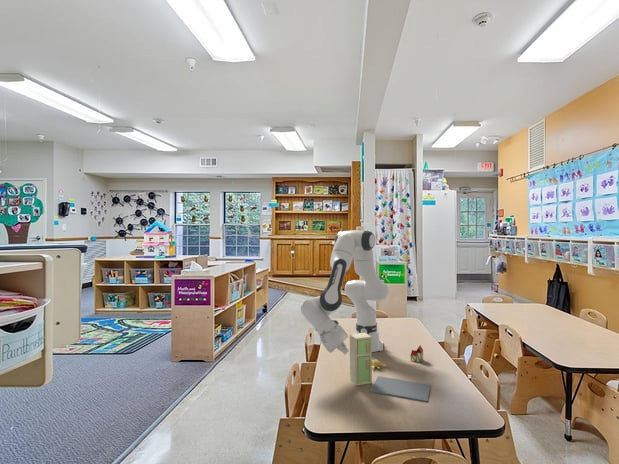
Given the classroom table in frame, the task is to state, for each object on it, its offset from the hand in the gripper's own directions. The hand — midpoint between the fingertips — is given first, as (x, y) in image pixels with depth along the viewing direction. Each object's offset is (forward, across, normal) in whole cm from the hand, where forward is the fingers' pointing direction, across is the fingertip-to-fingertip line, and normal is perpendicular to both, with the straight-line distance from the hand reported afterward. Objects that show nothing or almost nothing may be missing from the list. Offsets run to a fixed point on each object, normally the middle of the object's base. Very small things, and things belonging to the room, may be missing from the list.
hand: (346, 352), depth 161 cm
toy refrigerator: (+14, 0, +4) cm, 14 cm away
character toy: (+16, +18, +3) cm, 24 cm away
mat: (+26, 0, -8) cm, 27 cm away
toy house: (+27, +36, -9) cm, 46 cm away
